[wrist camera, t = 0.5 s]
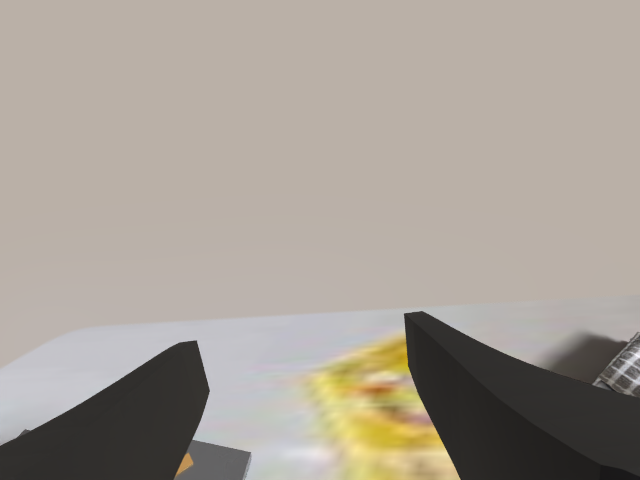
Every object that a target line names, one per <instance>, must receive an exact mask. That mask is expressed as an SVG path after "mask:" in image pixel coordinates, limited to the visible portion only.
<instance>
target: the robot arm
mask: <svg viewBox="0 0 640 480" xmlns="http://www.w3.org/2000/svg"><path fill="white" fill-rule="evenodd" d="M404 319H405V331H406V343H407V356H408V367H409V369H410V372H411V375H412V378H413V381H414V384H415V386H416V389H417V392H418V394H419V396H420V398H421V400H422V402H423V404H424V406H425V408H426V410H427V412H428V414H429V416H430V418H431V420H432V422H433V424H434V426H435V428H436V430H437V432H438V434H439V436H440V438H441V440H442V442H443V444H444V446H445V448H446V450H447V452H448V454H449V456H450V458H451V460H452V462H453V464H454V466H455V468H456V470H457V473H458V475H459V477H460V479H461V480H640V398H639V397H635V396H631V395H627V394H623V393H619V392H615V391H612V390H608V389H605V388H601V387H597V386H594V385H591V384H587V383H584V382H581V381H578V380H575V379H572V378H568V377H565V376H562V375H559V374H556V373H553V372H550V371H547V370H545V369H542V368H539V367H537V366H534V365H532V364H529V363H526V362H524V361H521V360H519V359H516V358H514V357H511V356H509V355H507V354H504V353H502V352H500V351H498V350H496V349H494V348H491V347H489V346H487V345H485V344H483V343H481V342H479V341H477V340H475V339H473V338H471V337H469V336H467V335H465V334H463V333H461V332H460V331H458V330H456V329H454V328H452V327H450V326H449V325H447V324H445V323H443V322H442V321H440V320H438V319H436V318H434V317H433V316H431V315H429V314H427V313H425V312H423V311H420V312H412V313H405V314H404ZM209 392H210V390H209V386H208V382H207V378H206V374H205V371H204V367H203V363H202V359H201V355H200V352H199V348H198V344H197V340H196V341H188V342H180V343H178V344H176V345H174V346H172V347H170V348H168V349H167V350H165V351H163V352H162V353H160V354H158V355H157V356H155V357H154V358H152V359H151V360H149V361H148V362H146V363H144V364H143V365H141V366H140V367H138V368H137V369H135V370H134V371H132V372H131V373H129V374H128V375H126V376H124V377H123V378H121V379H120V380H118V381H117V382H115V383H113V384H112V385H110V386H109V387H107V388H105V389H104V390H102V391H100V392H99V393H97V394H96V395H94V396H92V397H91V398H89V399H87V400H86V401H84V402H83V403H81V404H79V405H77V406H76V407H74V408H72V409H70V410H69V411H67V412H65V413H63V414H62V415H60V416H58V417H56V418H54V419H52V420H50V421H49V422H47V423H45V424H43V425H41V426H39V427H37V428H35V429H34V430H32V431H30V432H28V433H26V434H24V435H22V436H20V437H17V438H15V439H13V440H11V441H9V442H7V443H5V444H3V445H1V446H0V480H174V478H175V475H176V473H177V471H178V469H179V467H180V465H181V463H182V460H183V458H184V456H185V454H186V452H187V450H188V447H189V445H190V443H191V441H192V439H193V436H194V434H195V432H196V430H197V428H198V425H199V423H200V421H201V418H202V415H203V412H204V409H205V405H206V402H207V399H208V395H209Z"/></svg>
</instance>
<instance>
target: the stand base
mask: <svg viewBox="0 0 640 480" xmlns="http://www.w3.org/2000/svg"><path fill="white" fill-rule="evenodd" d="M28 432H30V430H24V431H23V432H22V433H21V434H20V435H19V436H18V437H20V436H22V435H24V434H26V433H28ZM250 462H251V452H246V451H242V450H237V449H233V448H228V447H223V446H219V445H214V444H209V443H205V442H200V441H195V440H192V441H191V443H190V445H189V447H188V450H187V452H186V454H185V456H184V458H183V460H182V463H181V465H180V467H179V469H178V471H177V473H176V475H175V478H174V480H245V478H246V475H247V471H248V468H249V465H250Z"/></svg>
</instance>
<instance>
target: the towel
mask: <svg viewBox="0 0 640 480" xmlns="http://www.w3.org/2000/svg"><path fill="white" fill-rule="evenodd" d="M592 385H594V386H597V387H601V388H605V389H608V390H612V391H615V392H619V393H623V394H627V395H631V396H635V397H639V398H640V332H637V333H636V335H635V336H634V337H633V338H631V339H630V341H629V342H628V343H627V345H626V347H625V348H623V350H622V351H620V353H618V355H617V356H616V357H615V358H614V359H613V360H612V361H611V363H610V364H609V365H608V366H607V367H606V368H605V369H604V370H603V372H602V373H600V374H599V376H598V377H597V378H596V380H595V381H594V383H593V384H592Z"/></svg>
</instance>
